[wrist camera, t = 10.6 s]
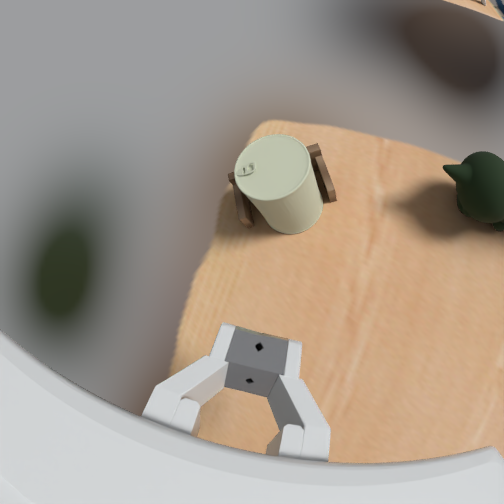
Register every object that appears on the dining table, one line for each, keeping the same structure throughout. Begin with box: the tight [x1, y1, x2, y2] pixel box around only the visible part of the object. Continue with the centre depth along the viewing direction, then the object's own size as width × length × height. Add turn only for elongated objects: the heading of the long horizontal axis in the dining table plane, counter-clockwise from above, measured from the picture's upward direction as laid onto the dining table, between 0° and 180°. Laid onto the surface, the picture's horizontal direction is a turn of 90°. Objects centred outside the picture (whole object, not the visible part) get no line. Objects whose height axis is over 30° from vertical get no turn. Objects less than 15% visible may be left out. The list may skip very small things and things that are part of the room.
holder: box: [228, 143, 337, 228], centre depth 39 cm, size 7×14×5 cm, turn 101°
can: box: [234, 134, 323, 234], centre depth 35 cm, size 9×9×12 cm
